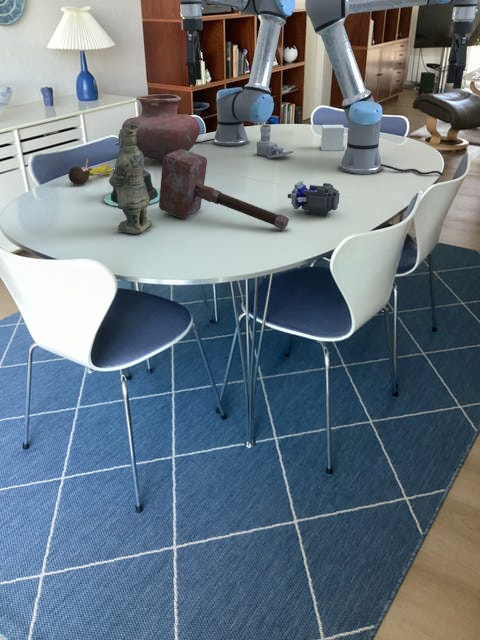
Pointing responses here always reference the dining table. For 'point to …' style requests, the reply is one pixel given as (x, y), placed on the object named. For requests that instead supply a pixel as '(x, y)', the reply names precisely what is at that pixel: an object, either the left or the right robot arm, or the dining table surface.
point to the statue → (131, 182)
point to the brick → (332, 137)
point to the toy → (315, 198)
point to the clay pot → (163, 127)
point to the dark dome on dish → (152, 192)
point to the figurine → (87, 173)
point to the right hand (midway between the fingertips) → (453, 86)
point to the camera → (268, 144)
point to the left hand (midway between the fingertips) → (195, 82)
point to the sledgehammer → (200, 190)
